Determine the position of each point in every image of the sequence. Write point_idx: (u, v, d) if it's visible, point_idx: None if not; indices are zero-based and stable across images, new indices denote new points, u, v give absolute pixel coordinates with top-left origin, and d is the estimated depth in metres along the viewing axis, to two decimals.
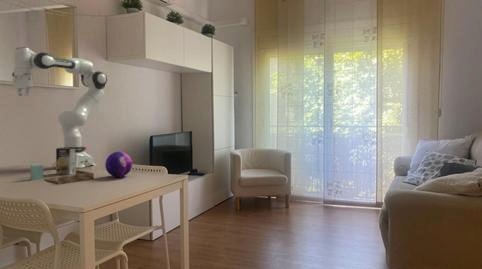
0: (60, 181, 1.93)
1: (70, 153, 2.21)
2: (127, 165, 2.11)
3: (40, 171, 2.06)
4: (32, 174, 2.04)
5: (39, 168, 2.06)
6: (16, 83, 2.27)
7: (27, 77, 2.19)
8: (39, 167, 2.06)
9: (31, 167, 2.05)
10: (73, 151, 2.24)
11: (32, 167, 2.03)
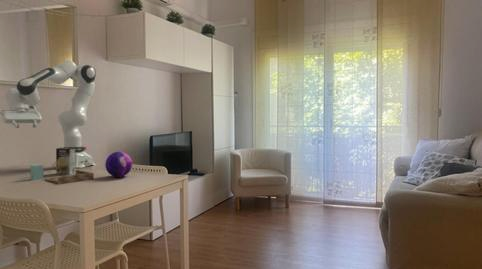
0: (60, 181, 1.93)
1: (70, 153, 2.21)
2: (127, 165, 2.11)
3: (40, 171, 2.06)
4: (32, 174, 2.04)
5: (39, 168, 2.06)
6: None
7: None
8: (39, 167, 2.06)
9: (31, 167, 2.05)
10: (73, 151, 2.24)
11: (32, 167, 2.04)
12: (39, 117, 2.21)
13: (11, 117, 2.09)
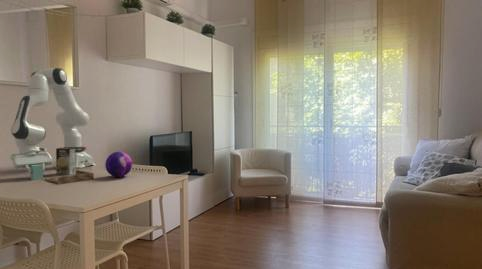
0: (60, 181, 1.93)
1: (70, 153, 2.21)
2: (127, 165, 2.11)
3: (40, 171, 2.06)
4: (32, 174, 2.04)
5: (39, 168, 2.06)
6: None
7: None
8: (39, 167, 2.06)
9: (31, 167, 2.05)
10: (73, 151, 2.24)
11: (32, 166, 2.03)
12: (50, 159, 2.14)
13: (22, 162, 2.02)
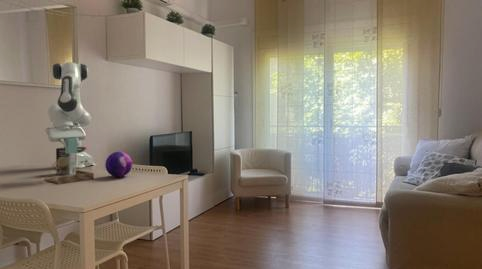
0: (60, 181, 1.93)
1: None
2: (127, 165, 2.11)
3: (75, 145, 2.04)
4: (67, 148, 2.02)
5: (74, 142, 2.03)
6: None
7: None
8: (74, 141, 2.03)
9: (66, 141, 2.02)
10: None
11: (67, 140, 2.01)
12: (83, 134, 2.12)
13: (57, 135, 2.00)
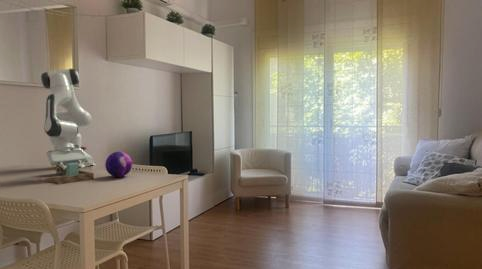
0: (60, 181, 1.93)
1: None
2: (127, 165, 2.11)
3: (76, 170, 2.05)
4: (68, 173, 2.03)
5: (75, 167, 2.05)
6: None
7: None
8: (75, 165, 2.04)
9: (67, 165, 2.03)
10: None
11: (68, 165, 2.02)
12: (84, 156, 2.13)
13: (58, 159, 2.01)
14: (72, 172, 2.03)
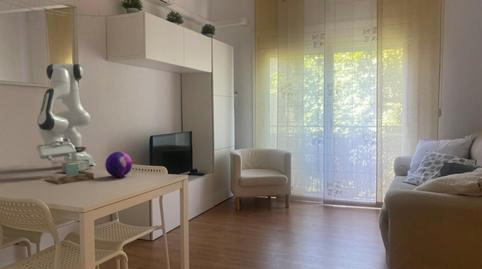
0: (60, 181, 1.93)
1: (86, 161, 2.40)
2: (127, 165, 2.11)
3: (76, 170, 2.05)
4: (68, 173, 2.03)
5: (75, 167, 2.05)
6: None
7: None
8: (75, 165, 2.04)
9: (67, 165, 2.03)
10: (87, 166, 2.41)
11: (68, 165, 2.02)
12: (73, 150, 2.22)
13: (48, 153, 2.10)
14: (72, 172, 2.03)
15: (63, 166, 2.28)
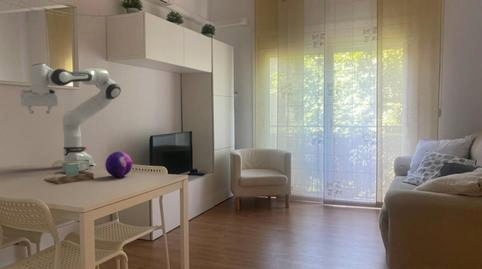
0: (60, 181, 1.93)
1: (86, 161, 2.40)
2: (127, 165, 2.11)
3: (76, 170, 2.05)
4: (68, 173, 2.03)
5: (75, 167, 2.05)
6: None
7: None
8: (75, 165, 2.04)
9: (67, 165, 2.03)
10: (87, 166, 2.41)
11: (68, 165, 2.02)
12: (55, 104, 2.24)
13: (29, 103, 2.12)
14: (72, 172, 2.03)
15: (63, 166, 2.28)
